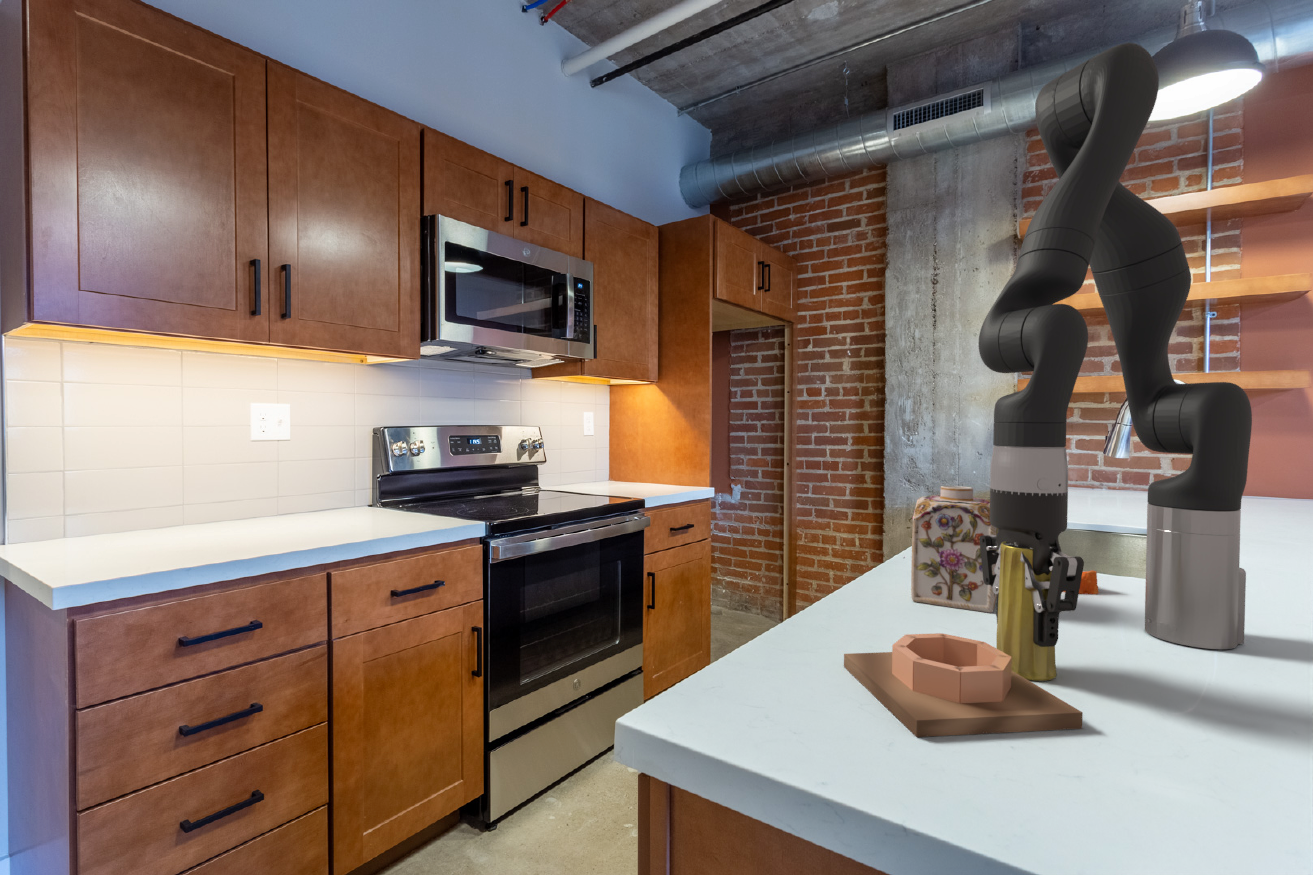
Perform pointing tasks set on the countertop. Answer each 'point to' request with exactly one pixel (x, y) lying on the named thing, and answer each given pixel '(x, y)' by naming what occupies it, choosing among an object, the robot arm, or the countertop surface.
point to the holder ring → (952, 667)
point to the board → (961, 704)
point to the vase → (1021, 618)
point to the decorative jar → (951, 550)
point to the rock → (1088, 583)
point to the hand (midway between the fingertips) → (1025, 635)
